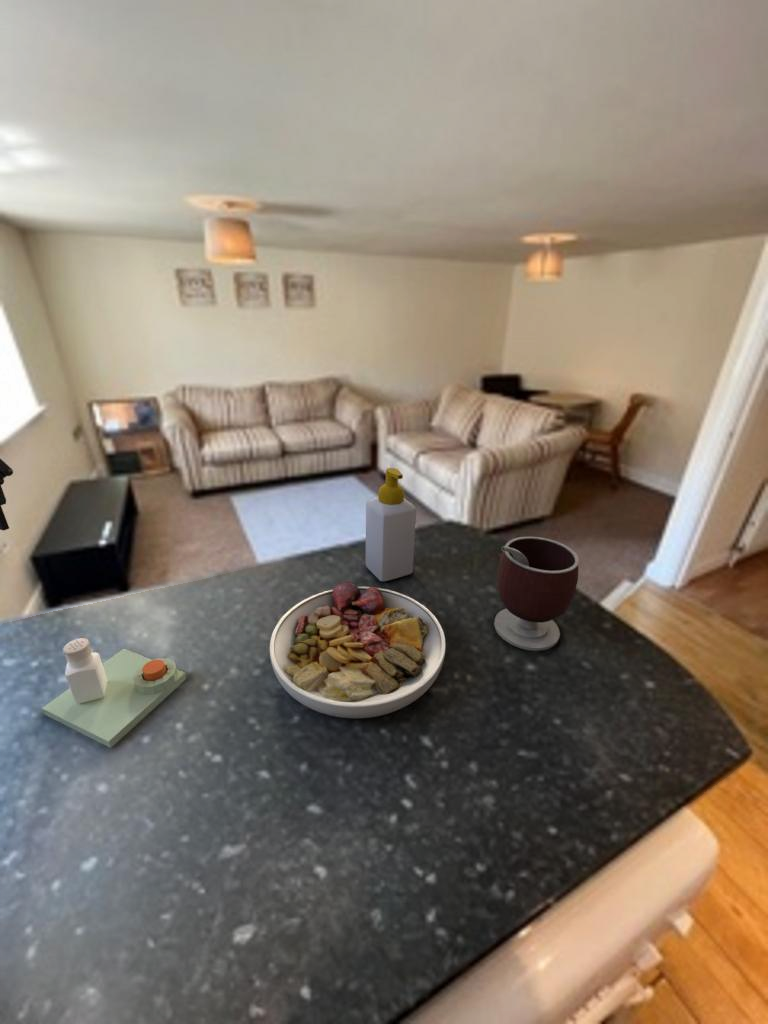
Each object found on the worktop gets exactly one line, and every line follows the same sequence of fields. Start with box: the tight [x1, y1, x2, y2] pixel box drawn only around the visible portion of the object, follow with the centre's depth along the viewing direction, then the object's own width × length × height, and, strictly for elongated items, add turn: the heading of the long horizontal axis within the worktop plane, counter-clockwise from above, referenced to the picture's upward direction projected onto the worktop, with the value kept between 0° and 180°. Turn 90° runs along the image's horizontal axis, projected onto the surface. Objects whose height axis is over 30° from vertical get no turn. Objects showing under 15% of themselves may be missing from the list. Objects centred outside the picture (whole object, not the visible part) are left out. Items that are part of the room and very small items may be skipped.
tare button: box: [142, 658, 166, 681], centre depth 71 cm, size 3×3×2 cm
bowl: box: [269, 581, 446, 719], centre depth 78 cm, size 30×30×8 cm
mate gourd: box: [493, 536, 580, 652], centre depth 83 cm, size 16×14×20 cm
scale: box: [41, 648, 187, 749], centre depth 70 cm, size 14×14×3 cm
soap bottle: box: [365, 467, 417, 583], centre depth 101 cm, size 9×9×25 cm
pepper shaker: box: [62, 637, 107, 704], centre depth 67 cm, size 4×4×10 cm
